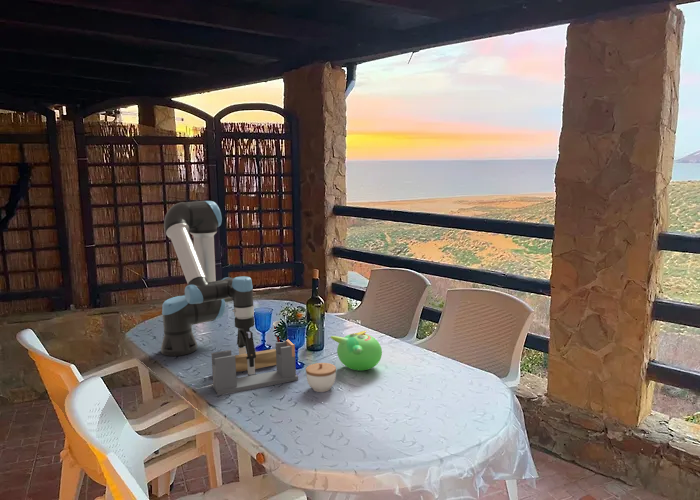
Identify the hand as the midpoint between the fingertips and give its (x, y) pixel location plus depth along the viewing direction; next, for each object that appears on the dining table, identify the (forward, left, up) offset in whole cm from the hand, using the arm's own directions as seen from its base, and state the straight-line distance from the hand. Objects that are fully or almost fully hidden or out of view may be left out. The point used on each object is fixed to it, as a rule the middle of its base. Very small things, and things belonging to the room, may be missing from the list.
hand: (247, 368), depth 217 cm
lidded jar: (+32, +19, 0) cm, 37 cm away
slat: (0, 0, 0) cm, 1 cm away
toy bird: (+21, +39, 0) cm, 44 cm away
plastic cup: (-14, +21, 0) cm, 25 cm away
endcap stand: (+16, 0, 0) cm, 16 cm away
